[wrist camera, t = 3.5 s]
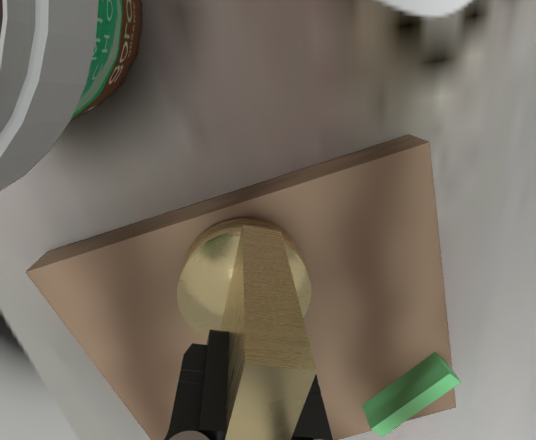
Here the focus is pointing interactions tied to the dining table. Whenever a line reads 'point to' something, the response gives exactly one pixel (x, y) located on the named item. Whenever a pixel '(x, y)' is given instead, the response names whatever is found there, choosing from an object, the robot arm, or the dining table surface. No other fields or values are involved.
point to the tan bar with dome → (253, 321)
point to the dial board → (322, 286)
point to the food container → (58, 70)
